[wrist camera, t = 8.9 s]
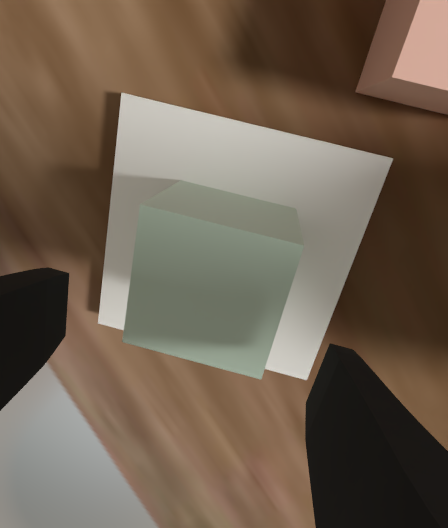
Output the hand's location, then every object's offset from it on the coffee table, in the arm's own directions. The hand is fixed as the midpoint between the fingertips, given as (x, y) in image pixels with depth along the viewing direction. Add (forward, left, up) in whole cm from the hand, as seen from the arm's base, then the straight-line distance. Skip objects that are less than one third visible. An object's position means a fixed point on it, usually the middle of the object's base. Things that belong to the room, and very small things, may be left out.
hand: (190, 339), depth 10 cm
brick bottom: (0, 0, -7) cm, 7 cm away
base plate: (0, 0, -8) cm, 8 cm away
